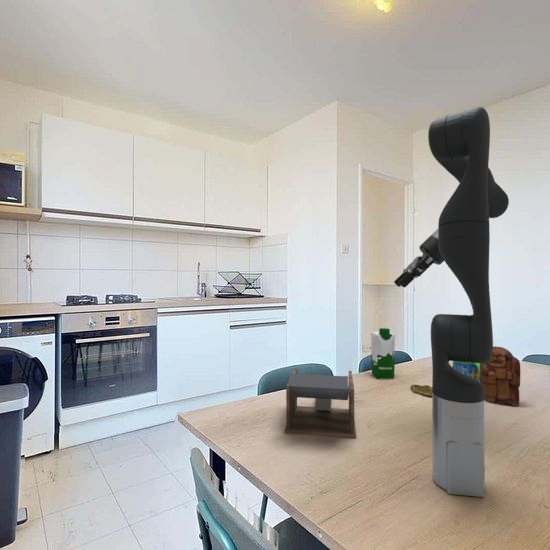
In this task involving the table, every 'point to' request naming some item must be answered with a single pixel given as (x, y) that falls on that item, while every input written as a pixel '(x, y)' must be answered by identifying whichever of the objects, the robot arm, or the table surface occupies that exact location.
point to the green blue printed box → (468, 369)
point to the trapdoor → (320, 386)
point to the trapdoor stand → (319, 417)
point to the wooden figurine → (501, 378)
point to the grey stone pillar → (323, 404)
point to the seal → (422, 390)
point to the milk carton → (383, 353)
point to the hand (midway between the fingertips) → (398, 285)
